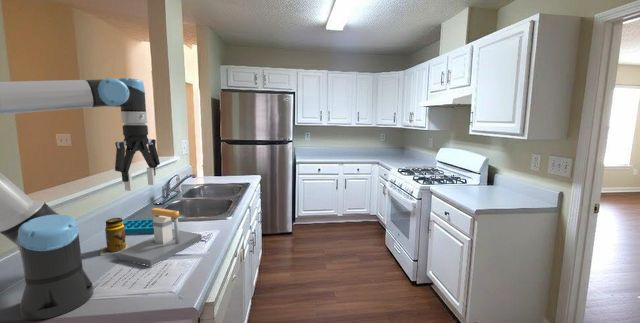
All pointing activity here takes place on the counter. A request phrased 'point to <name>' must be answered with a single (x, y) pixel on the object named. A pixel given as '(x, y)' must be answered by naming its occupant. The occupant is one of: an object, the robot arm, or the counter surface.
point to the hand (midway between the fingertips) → (140, 187)
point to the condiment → (114, 236)
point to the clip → (169, 214)
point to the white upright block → (162, 229)
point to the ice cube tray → (138, 226)
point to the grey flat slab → (158, 249)
